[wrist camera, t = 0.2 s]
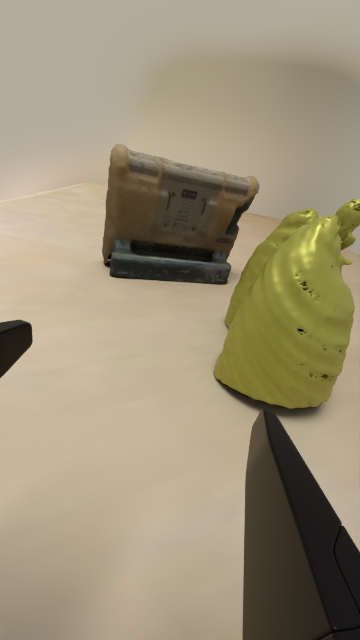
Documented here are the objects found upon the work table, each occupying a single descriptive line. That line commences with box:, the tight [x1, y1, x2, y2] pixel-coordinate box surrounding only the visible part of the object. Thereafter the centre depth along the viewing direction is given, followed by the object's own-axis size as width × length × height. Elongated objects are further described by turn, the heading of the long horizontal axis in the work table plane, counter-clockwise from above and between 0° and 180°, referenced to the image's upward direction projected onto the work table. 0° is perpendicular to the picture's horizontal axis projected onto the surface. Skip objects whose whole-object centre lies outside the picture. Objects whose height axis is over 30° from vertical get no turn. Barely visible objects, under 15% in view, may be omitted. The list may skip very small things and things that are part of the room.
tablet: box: [102, 144, 259, 284], centre depth 59 cm, size 33×14×25 cm, turn 112°
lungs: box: [214, 199, 360, 408], centre depth 35 cm, size 25×16×24 cm, turn 165°
